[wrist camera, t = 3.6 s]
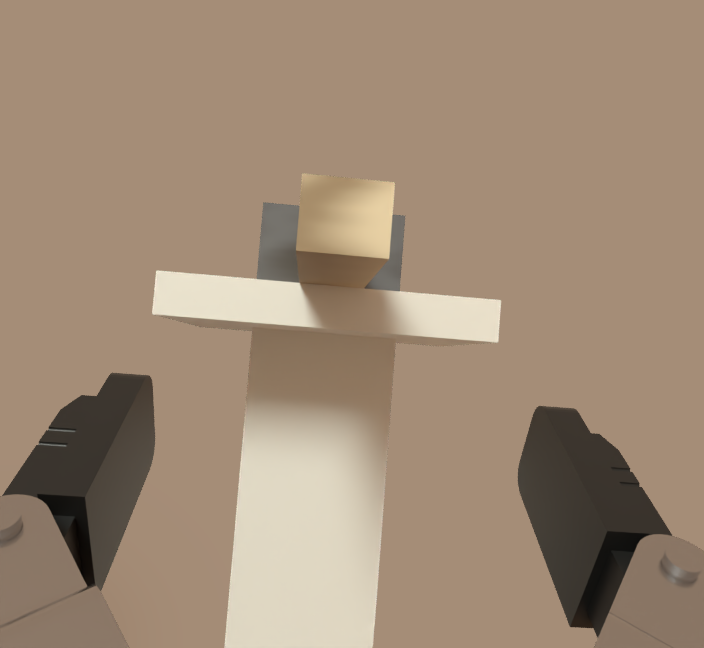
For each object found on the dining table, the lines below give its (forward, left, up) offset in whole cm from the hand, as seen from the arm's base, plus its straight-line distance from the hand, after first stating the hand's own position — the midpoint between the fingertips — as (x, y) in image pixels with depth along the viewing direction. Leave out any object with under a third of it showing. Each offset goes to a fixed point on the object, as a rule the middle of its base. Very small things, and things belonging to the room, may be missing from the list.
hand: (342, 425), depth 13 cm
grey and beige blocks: (0, +18, +5) cm, 18 cm away
